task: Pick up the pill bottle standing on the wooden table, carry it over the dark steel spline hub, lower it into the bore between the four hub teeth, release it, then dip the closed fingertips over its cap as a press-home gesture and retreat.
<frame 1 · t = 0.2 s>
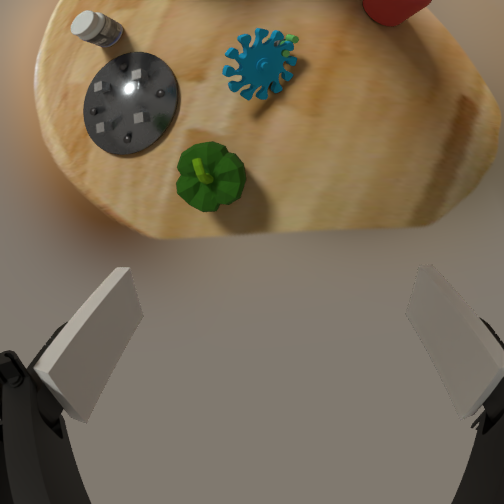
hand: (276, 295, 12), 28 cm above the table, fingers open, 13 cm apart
bell pepper: (219, 169, 37), on the table
beer can: (381, 10, 24), on the table
pill bottle: (111, 35, 27), on the table
hub: (127, 102, 32), on the table
gear: (264, 68, 30), on the table
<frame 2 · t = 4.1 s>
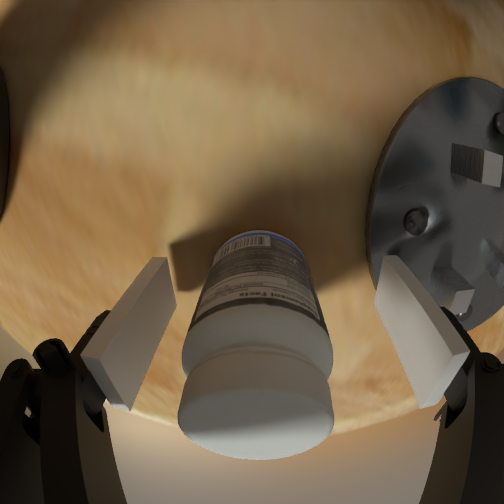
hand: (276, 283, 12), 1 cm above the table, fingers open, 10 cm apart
pill bottle: (259, 271, 13), on the table
hub: (481, 219, 11), on the table
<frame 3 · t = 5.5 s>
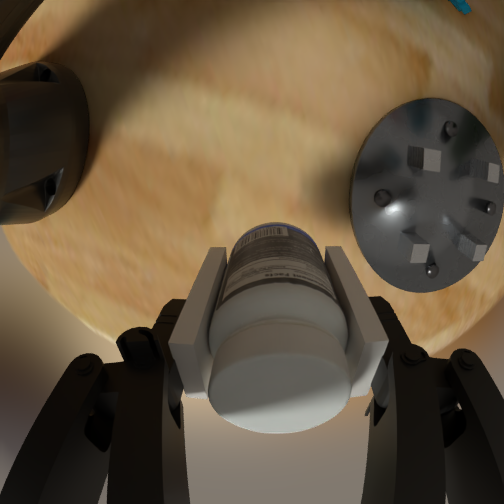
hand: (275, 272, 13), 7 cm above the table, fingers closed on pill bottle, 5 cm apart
pill bottle: (275, 261, 14), point 6 cm above the table, touching gripper
hub: (439, 199, 18), on the table
when the fingers open (2 cm above the table, at t = 9.1 s): pill bottle stays where it is, resting on hub.
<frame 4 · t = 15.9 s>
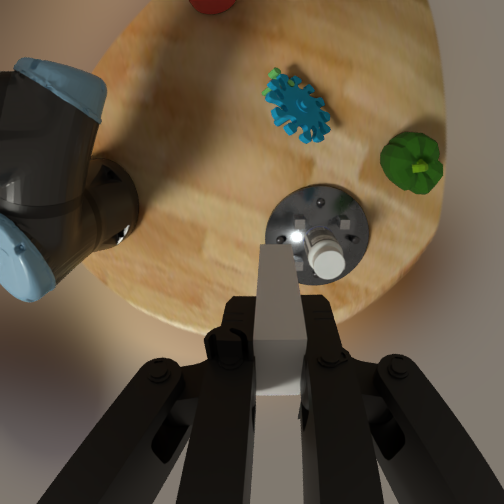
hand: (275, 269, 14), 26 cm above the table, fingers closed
bell pepper: (396, 156, 35), on the table
pill bottle: (318, 239, 40), point 1 cm above the table, touching hub
hub: (317, 237, 41), on the table
gear: (294, 106, 33), on the table
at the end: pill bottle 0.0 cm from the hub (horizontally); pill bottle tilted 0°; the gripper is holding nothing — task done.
